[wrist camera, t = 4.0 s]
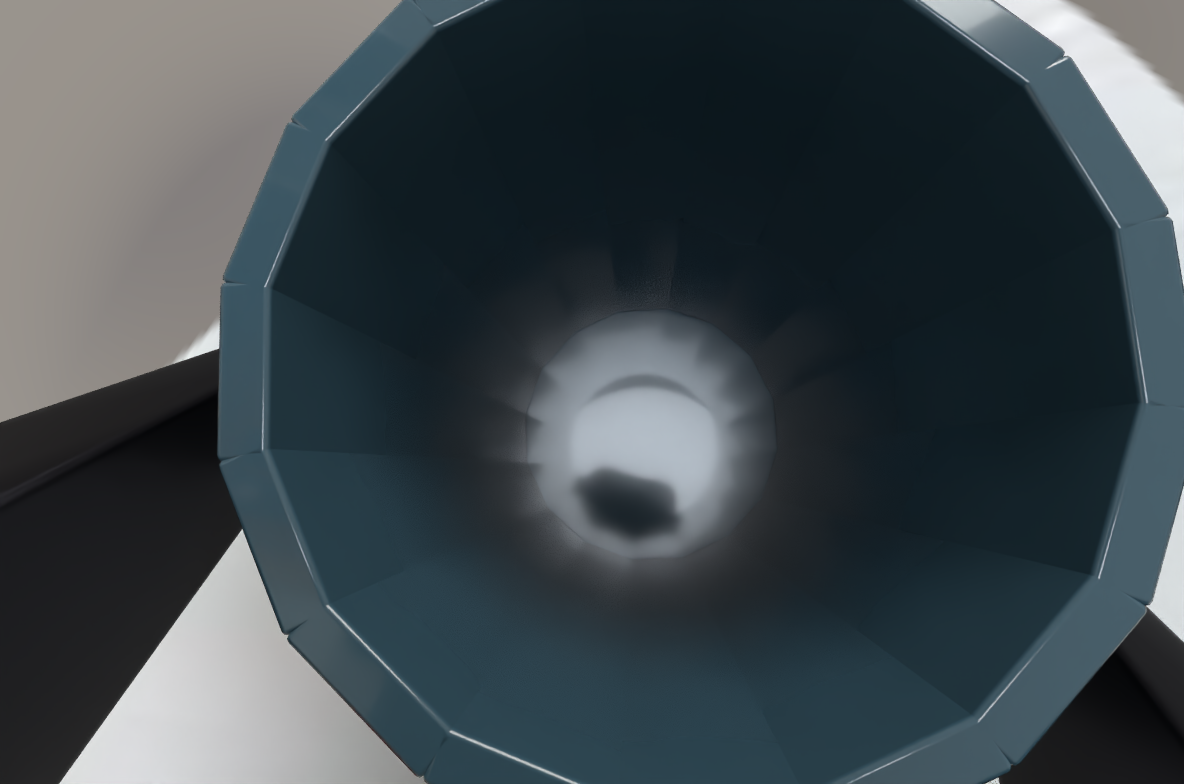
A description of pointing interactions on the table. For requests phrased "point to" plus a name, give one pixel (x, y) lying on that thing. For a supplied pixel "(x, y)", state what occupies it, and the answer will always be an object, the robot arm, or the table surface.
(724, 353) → the tumbler
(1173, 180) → the table surface
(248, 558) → the table surface
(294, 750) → the table surface
